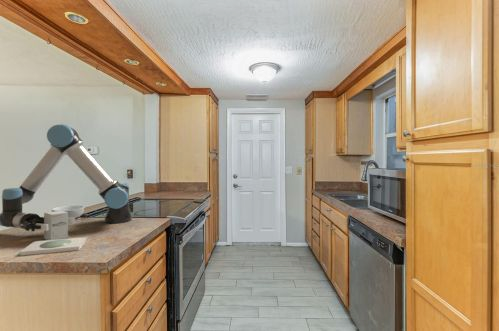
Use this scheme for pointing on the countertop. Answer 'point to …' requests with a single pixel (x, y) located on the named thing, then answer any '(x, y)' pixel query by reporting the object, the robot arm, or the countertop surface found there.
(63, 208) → the cereal bowl
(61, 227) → the supplement box
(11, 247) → the countertop surface
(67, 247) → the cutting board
